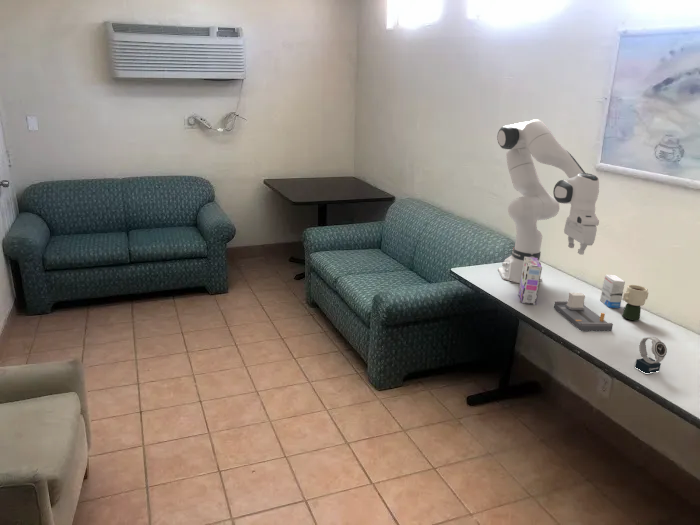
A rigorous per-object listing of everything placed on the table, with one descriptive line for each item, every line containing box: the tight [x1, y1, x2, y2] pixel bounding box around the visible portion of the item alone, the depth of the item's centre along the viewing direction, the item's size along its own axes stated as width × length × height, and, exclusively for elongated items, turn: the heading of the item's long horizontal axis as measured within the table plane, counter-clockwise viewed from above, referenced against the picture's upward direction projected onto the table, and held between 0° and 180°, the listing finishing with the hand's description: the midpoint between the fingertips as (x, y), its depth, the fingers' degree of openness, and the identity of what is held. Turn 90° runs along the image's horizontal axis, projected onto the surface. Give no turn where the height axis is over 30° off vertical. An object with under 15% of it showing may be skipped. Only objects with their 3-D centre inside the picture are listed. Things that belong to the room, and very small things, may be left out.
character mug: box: [622, 284, 649, 322], centre depth 214 cm, size 11×7×13 cm, turn 104°
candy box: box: [518, 257, 543, 306], centre depth 228 cm, size 14×6×16 cm, turn 168°
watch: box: [634, 336, 668, 373], centre depth 173 cm, size 6×8×11 cm
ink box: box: [599, 274, 626, 309], centre depth 228 cm, size 9×5×12 cm, turn 0°
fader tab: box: [565, 292, 586, 310], centre depth 217 cm, size 4×6×6 cm, turn 96°
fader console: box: [553, 300, 614, 332], centre depth 212 cm, size 22×12×5 cm, turn 6°
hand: (575, 250), depth 216 cm, fingers open, 8 cm apart
